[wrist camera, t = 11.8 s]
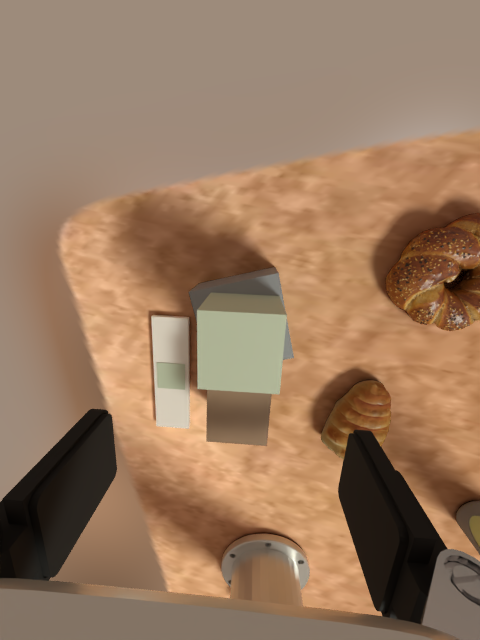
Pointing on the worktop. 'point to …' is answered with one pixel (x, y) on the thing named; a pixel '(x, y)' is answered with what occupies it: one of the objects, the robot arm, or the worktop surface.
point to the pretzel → (440, 275)
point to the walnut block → (238, 417)
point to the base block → (244, 292)
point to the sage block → (240, 343)
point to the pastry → (358, 415)
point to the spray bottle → (470, 522)
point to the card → (171, 370)
